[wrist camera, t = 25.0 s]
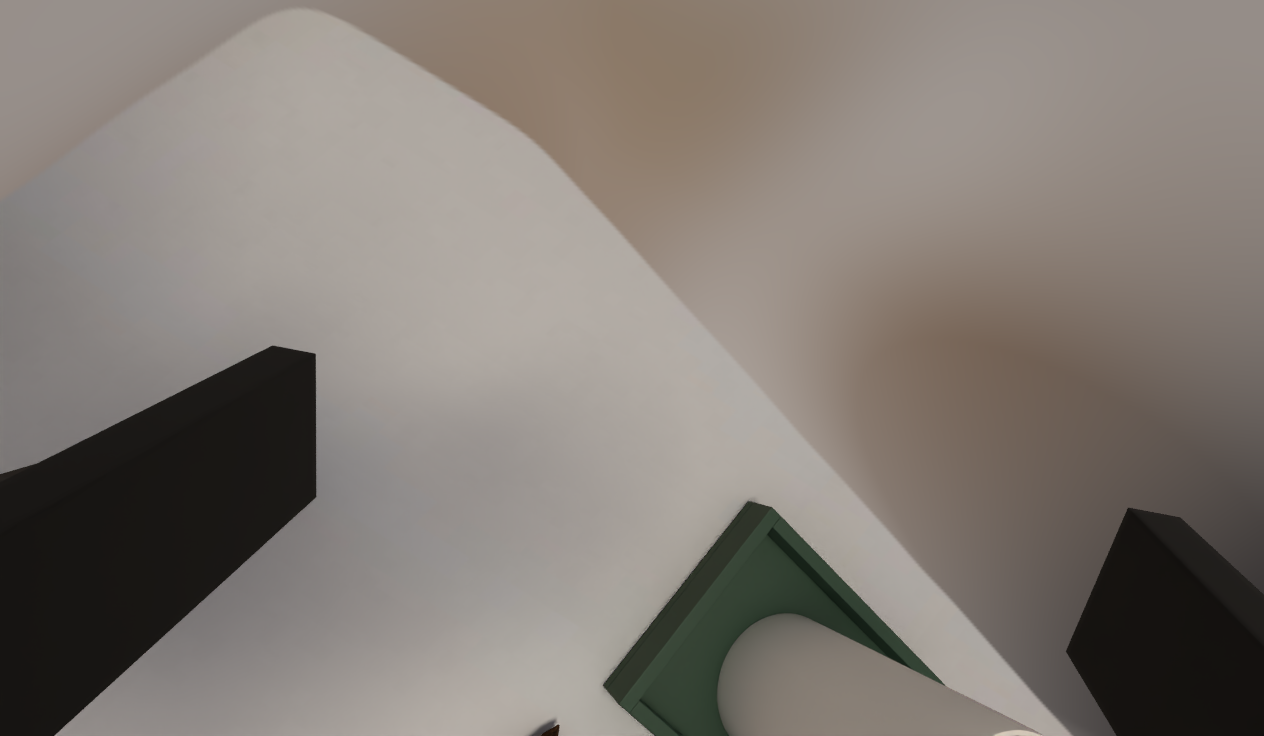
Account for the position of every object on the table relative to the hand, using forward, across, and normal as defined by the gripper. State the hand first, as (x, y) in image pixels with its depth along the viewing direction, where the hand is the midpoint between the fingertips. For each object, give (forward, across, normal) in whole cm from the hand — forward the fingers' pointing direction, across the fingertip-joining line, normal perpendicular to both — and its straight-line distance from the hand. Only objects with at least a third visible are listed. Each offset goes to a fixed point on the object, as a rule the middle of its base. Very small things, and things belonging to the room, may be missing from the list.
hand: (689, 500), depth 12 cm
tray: (+25, +8, -25) cm, 36 cm away
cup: (+25, +8, -25) cm, 36 cm away
